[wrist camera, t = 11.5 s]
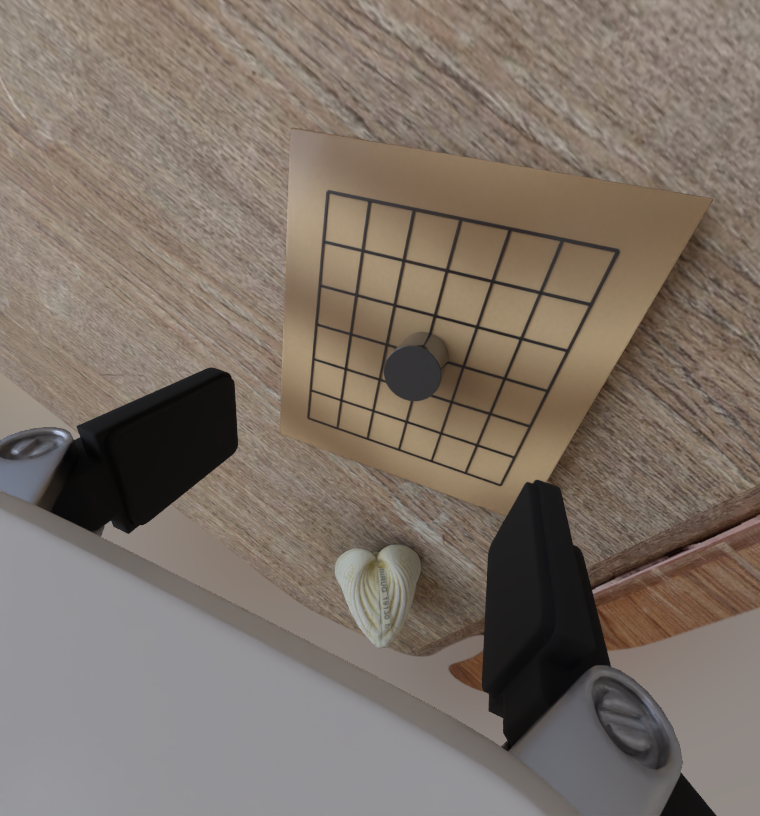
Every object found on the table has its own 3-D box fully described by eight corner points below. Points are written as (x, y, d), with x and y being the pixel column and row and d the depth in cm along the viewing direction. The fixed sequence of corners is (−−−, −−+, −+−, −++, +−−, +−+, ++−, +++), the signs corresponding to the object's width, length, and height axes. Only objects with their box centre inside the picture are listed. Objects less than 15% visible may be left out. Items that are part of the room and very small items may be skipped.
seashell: (428, 551, 26) (435, 656, 26) (412, 524, 35) (417, 603, 34) (328, 558, 26) (332, 665, 25) (337, 529, 34) (339, 609, 34)
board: (304, 135, 18) (289, 126, 17) (695, 202, 15) (716, 198, 13) (289, 425, 28) (278, 434, 27) (521, 508, 25) (522, 523, 23)
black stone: (404, 325, 20) (389, 338, 17) (455, 339, 19) (448, 355, 16) (393, 372, 21) (378, 391, 19) (440, 387, 21) (432, 409, 18)
